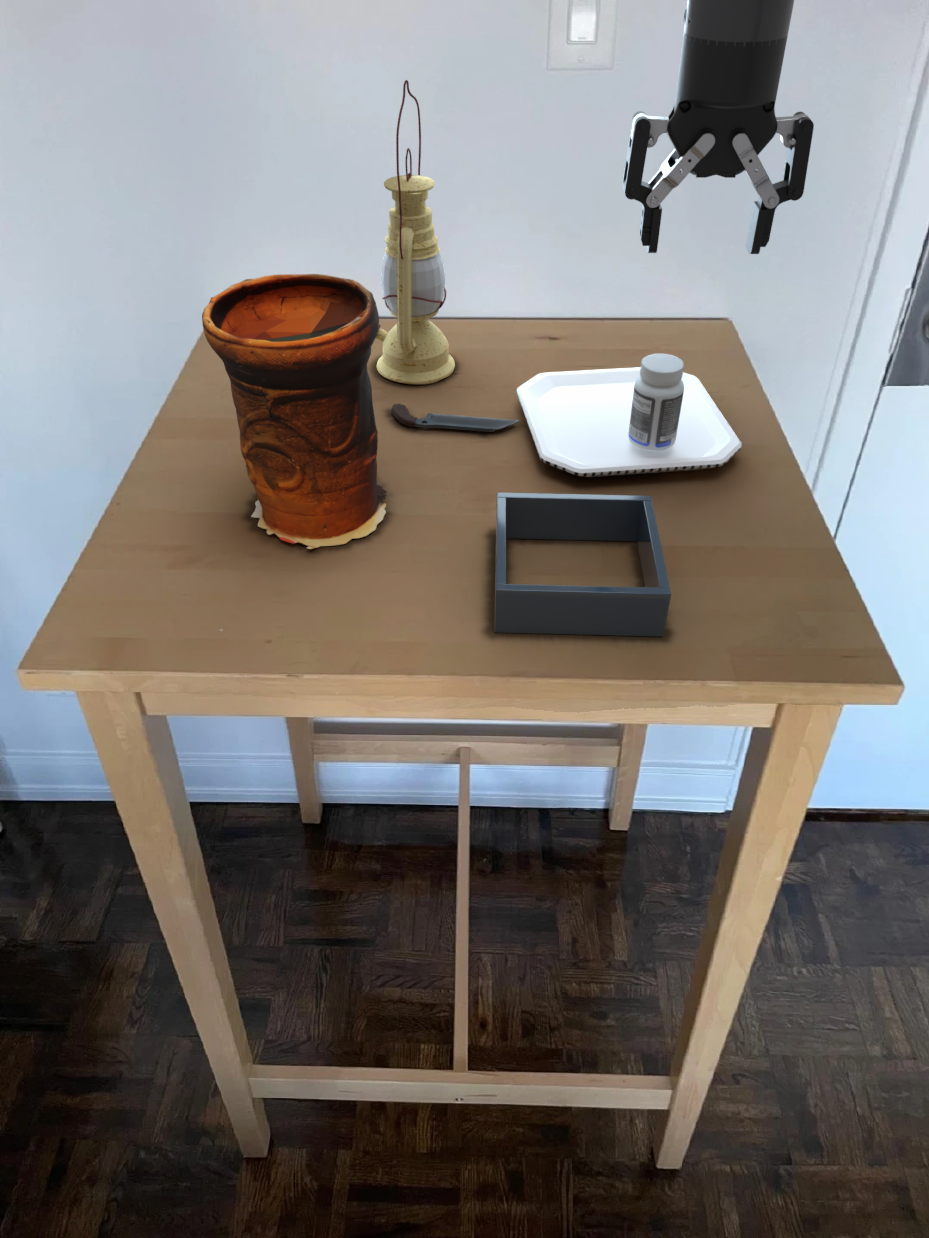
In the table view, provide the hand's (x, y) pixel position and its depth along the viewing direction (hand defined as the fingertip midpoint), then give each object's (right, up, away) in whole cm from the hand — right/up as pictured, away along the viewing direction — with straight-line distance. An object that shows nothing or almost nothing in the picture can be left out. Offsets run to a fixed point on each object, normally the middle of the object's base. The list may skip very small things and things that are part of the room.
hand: (701, 250), depth 80 cm
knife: (-21, -10, +21) cm, 32 cm away
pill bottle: (-1, -13, +15) cm, 20 cm away
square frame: (-11, -28, +1) cm, 30 cm away
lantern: (-26, -2, +31) cm, 41 cm away
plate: (-3, -12, +20) cm, 24 cm away
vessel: (-34, -21, +9) cm, 41 cm away
